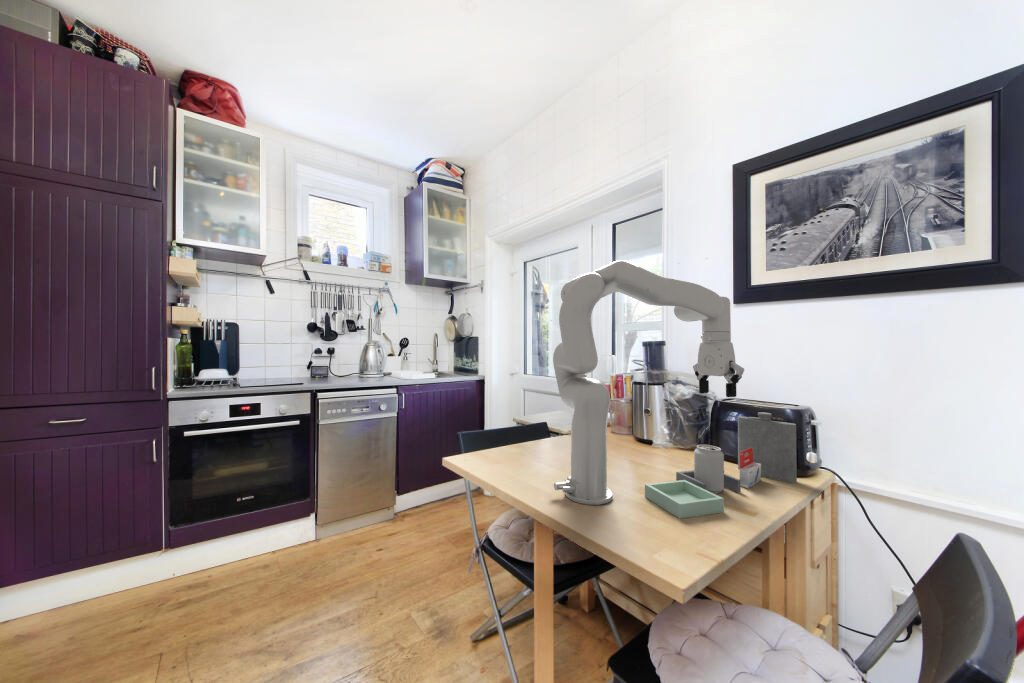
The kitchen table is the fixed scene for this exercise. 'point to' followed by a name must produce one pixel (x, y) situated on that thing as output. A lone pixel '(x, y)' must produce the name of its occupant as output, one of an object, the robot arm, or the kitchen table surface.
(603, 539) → the kitchen table surface
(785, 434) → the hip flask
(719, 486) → the can
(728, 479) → the bay
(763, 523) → the kitchen table surface
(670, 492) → the tray
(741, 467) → the ink cartridge box
